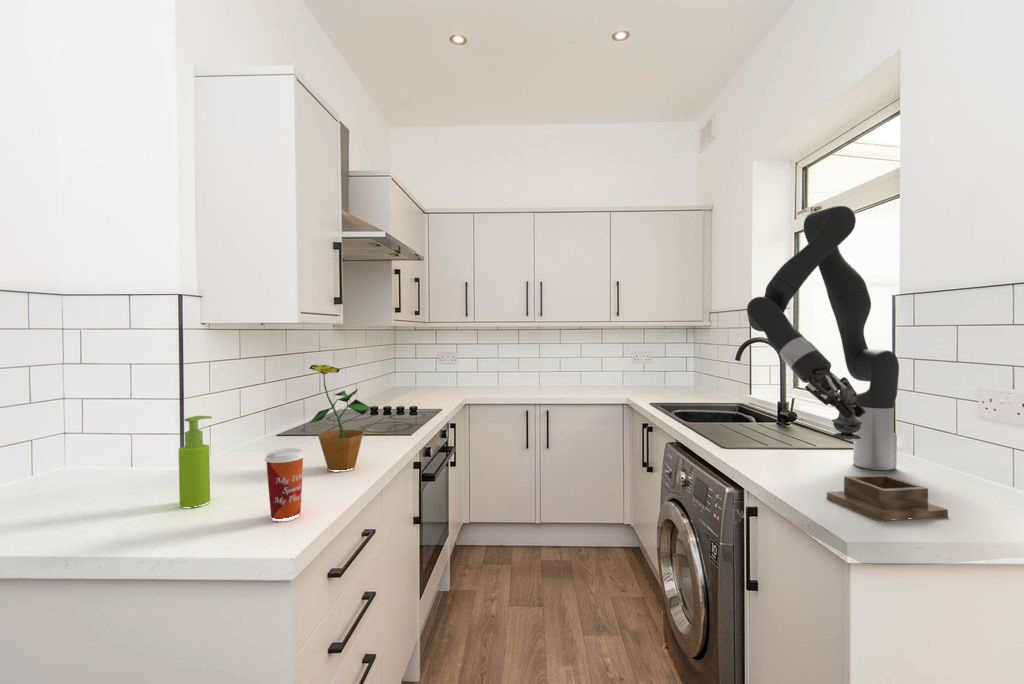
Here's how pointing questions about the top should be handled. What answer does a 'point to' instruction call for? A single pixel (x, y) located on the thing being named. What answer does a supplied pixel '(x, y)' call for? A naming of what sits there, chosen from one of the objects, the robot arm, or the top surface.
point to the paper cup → (285, 481)
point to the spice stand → (886, 498)
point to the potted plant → (339, 443)
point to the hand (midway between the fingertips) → (856, 415)
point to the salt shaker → (847, 425)
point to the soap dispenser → (194, 467)
